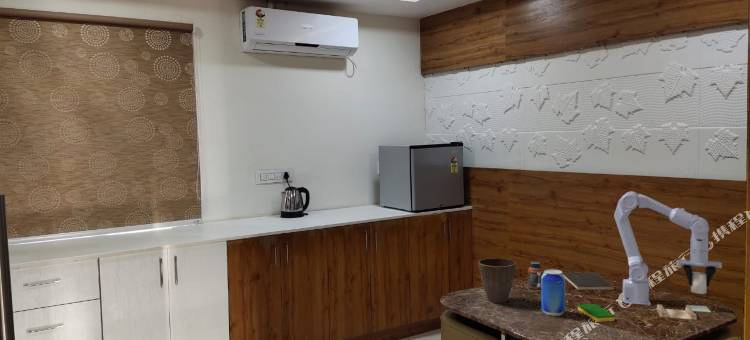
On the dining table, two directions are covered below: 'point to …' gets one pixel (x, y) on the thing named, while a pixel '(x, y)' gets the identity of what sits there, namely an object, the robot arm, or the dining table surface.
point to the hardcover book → (587, 281)
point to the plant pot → (497, 278)
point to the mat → (699, 308)
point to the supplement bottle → (535, 276)
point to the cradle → (676, 313)
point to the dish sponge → (596, 312)
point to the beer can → (553, 292)
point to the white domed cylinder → (699, 282)
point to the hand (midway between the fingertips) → (698, 285)
